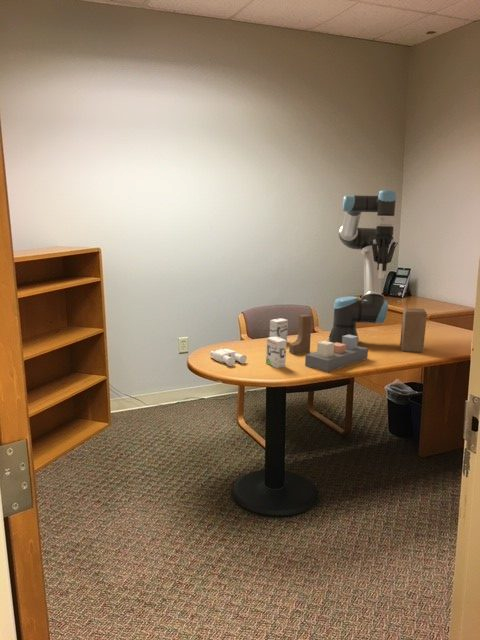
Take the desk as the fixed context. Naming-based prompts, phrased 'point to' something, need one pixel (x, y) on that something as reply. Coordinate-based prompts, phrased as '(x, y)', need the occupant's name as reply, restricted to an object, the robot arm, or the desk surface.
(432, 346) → the desk surface
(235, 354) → the binoculars
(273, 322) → the ink box
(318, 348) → the cream plunger
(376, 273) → the robot arm
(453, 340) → the desk surface
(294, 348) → the wooden block
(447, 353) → the desk surface
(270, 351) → the ink box
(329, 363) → the gray slotted tray
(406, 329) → the wooden block
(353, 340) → the slate-blue plunger
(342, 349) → the salmon pink block
